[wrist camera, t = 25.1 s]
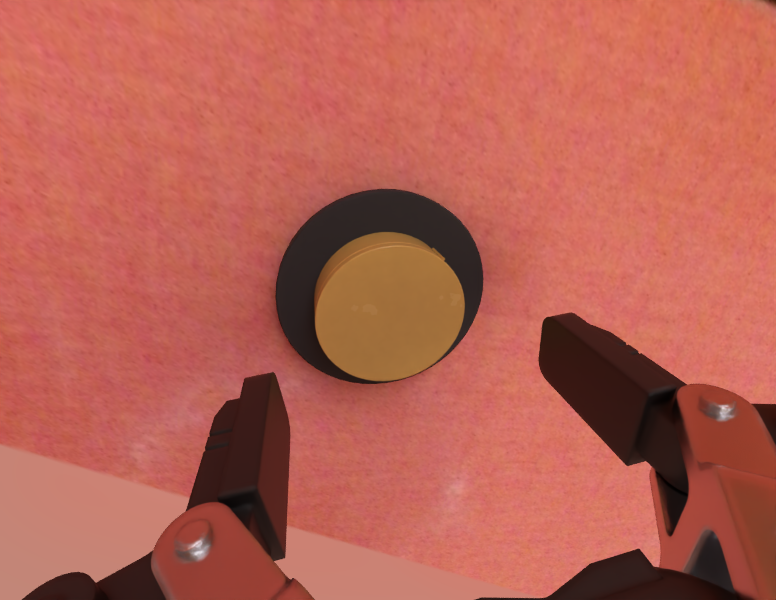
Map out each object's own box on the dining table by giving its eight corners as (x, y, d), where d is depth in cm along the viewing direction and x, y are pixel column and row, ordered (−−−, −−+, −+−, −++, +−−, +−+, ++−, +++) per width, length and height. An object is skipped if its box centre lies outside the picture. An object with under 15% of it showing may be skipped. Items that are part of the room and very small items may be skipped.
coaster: (384, 405, 19) (387, 413, 18) (231, 307, 15) (228, 314, 15) (514, 281, 17) (521, 286, 17) (379, 136, 13) (382, 136, 13)
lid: (383, 198, 14) (394, 208, 12) (475, 288, 16) (494, 307, 15) (284, 307, 15) (281, 331, 13) (384, 376, 17) (393, 403, 16)
